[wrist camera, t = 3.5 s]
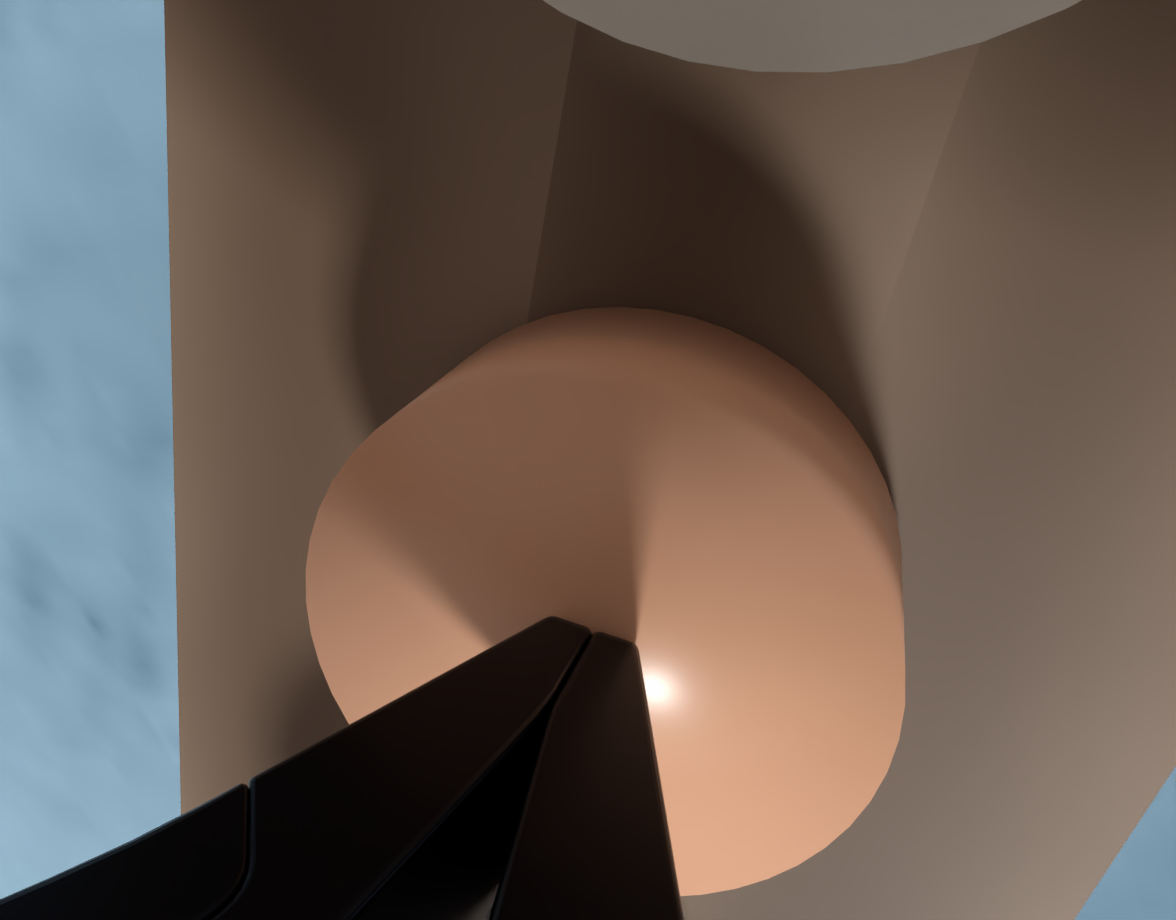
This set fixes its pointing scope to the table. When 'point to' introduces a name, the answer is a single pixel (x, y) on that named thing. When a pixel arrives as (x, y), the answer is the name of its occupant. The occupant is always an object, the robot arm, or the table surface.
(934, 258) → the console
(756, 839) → the terracotta button
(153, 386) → the table surface
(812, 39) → the cream button
